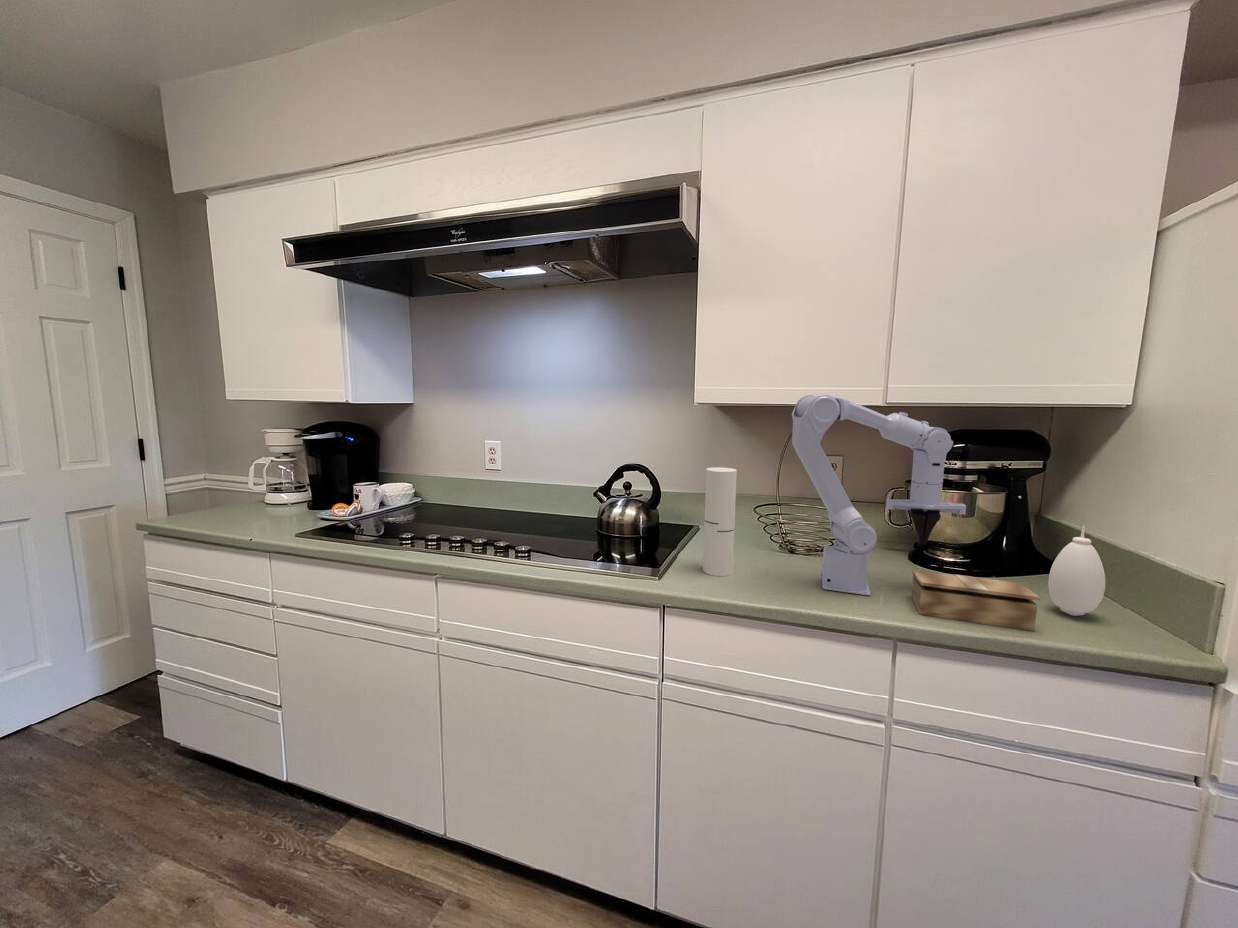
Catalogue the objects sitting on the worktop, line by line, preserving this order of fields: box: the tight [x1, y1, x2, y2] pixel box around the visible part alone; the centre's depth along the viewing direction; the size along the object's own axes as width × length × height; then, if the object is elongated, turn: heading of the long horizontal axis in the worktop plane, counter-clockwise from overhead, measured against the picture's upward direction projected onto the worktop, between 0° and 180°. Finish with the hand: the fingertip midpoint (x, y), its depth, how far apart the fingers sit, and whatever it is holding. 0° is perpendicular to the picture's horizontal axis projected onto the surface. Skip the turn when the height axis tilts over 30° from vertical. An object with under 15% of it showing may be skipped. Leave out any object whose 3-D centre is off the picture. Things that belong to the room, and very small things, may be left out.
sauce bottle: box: [1047, 524, 1106, 617], centre depth 94 cm, size 8×8×18 cm
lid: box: [911, 569, 1041, 601], centre depth 95 cm, size 18×10×1 cm, turn 68°
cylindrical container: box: [702, 467, 738, 577], centre depth 116 cm, size 7×7×25 cm
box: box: [910, 574, 1038, 632], centre depth 95 cm, size 18×9×5 cm, turn 68°
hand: (921, 543), depth 106 cm, fingers closed
